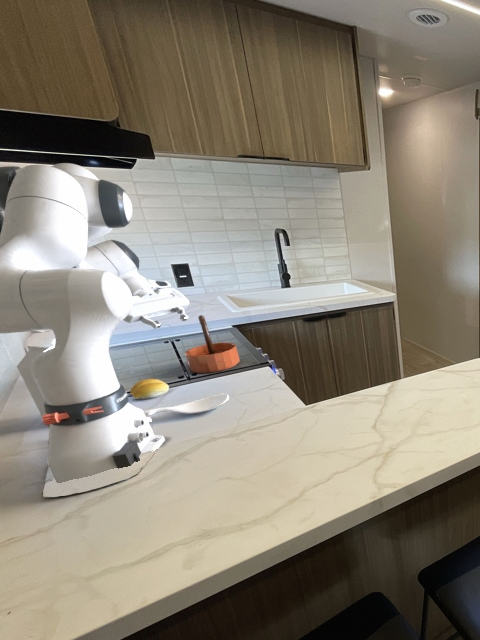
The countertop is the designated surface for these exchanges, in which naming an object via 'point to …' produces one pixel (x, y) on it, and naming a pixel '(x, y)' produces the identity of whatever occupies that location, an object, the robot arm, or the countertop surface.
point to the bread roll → (149, 389)
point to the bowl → (212, 358)
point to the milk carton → (28, 378)
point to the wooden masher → (206, 334)
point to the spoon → (193, 405)
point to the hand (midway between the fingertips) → (172, 323)
